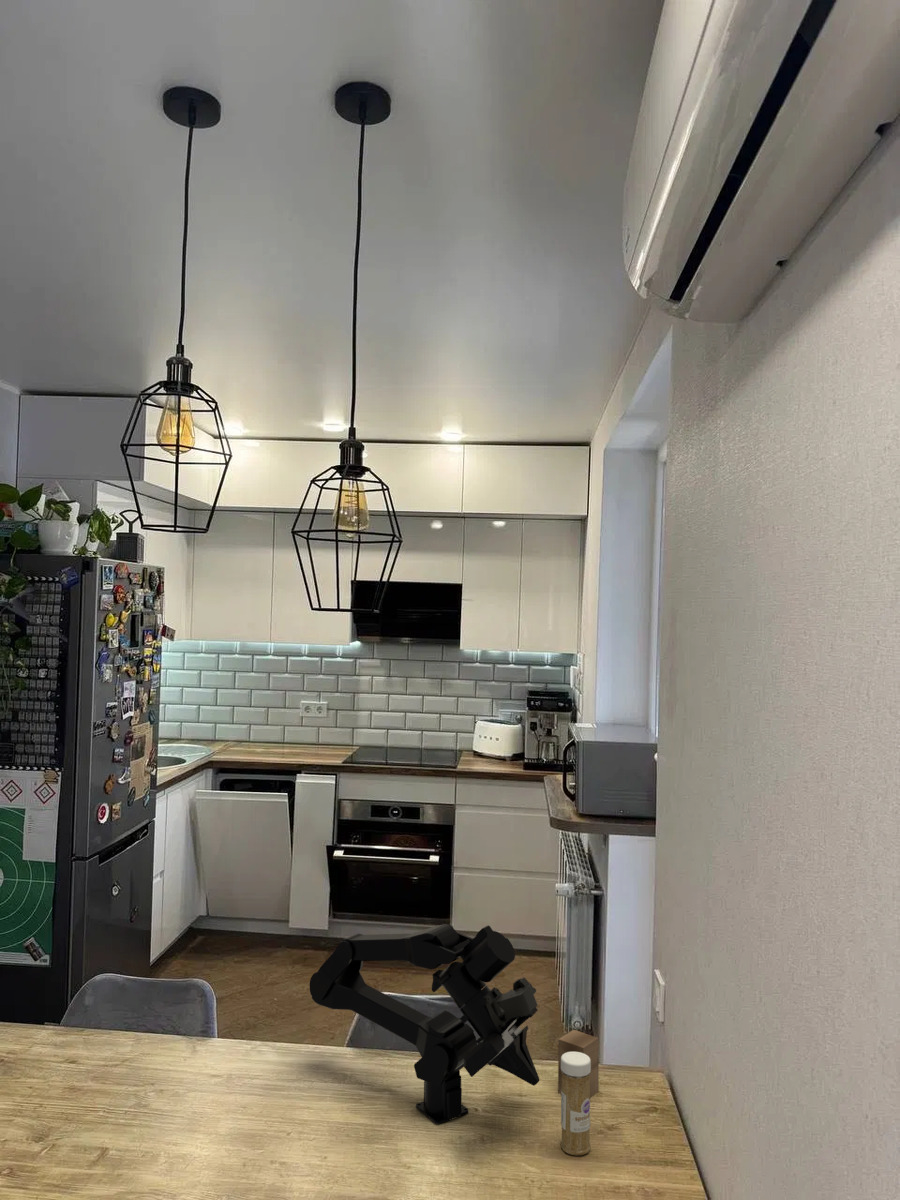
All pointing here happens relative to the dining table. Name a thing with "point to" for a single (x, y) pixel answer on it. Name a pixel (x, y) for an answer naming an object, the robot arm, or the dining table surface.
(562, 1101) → the sprinkles bottle
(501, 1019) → the robot arm
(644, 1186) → the dining table surface
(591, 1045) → the walnut block
